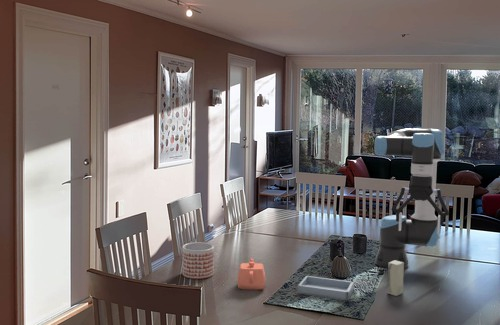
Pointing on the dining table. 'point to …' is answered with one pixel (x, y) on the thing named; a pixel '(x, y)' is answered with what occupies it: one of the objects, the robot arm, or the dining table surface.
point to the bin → (326, 287)
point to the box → (395, 277)
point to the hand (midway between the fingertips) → (418, 231)
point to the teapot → (251, 276)
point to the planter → (198, 260)
